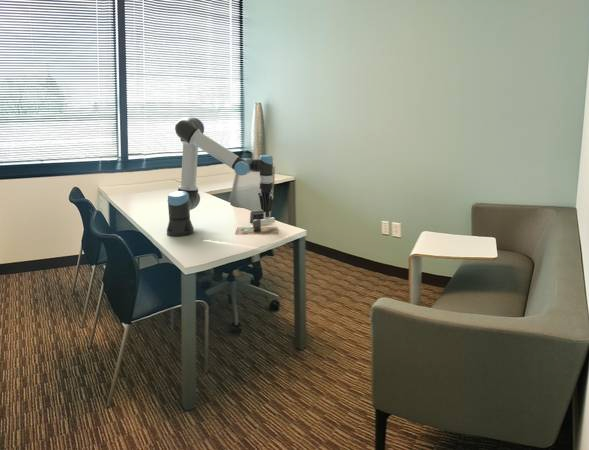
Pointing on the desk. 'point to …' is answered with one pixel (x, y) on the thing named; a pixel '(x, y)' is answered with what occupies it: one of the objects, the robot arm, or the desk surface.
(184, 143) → the robot arm
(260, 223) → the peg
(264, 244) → the desk surface
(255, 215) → the electrical switch
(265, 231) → the board
